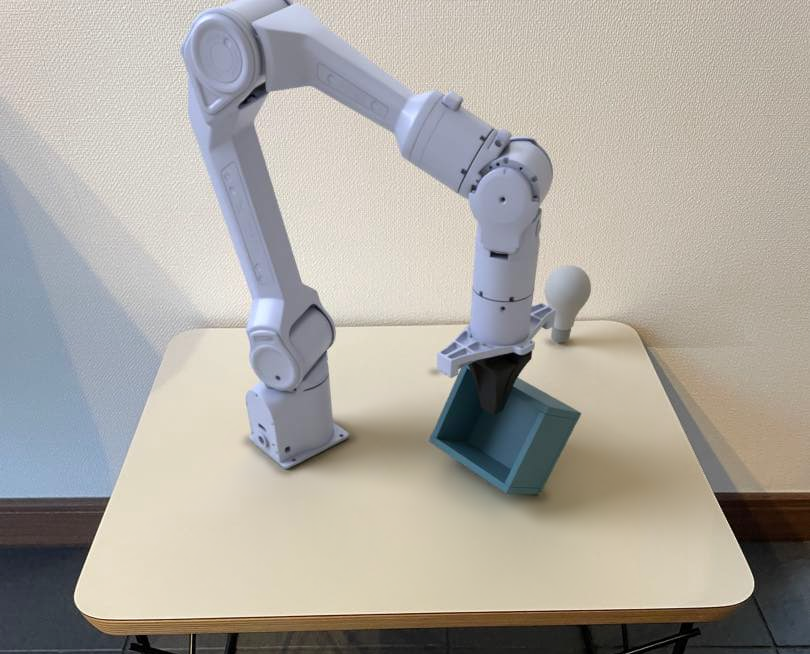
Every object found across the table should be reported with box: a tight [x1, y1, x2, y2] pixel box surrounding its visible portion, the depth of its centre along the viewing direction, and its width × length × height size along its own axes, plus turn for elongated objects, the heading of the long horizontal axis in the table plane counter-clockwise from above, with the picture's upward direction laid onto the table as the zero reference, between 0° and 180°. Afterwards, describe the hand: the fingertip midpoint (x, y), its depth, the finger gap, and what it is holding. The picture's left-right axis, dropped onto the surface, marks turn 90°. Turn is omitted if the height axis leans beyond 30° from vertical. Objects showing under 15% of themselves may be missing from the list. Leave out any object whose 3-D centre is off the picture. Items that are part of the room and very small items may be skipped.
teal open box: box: [428, 365, 582, 495], centre depth 84 cm, size 7×12×10 cm
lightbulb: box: [544, 264, 592, 344], centre depth 104 cm, size 6×6×11 cm
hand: (491, 408), depth 81 cm, fingers closed
